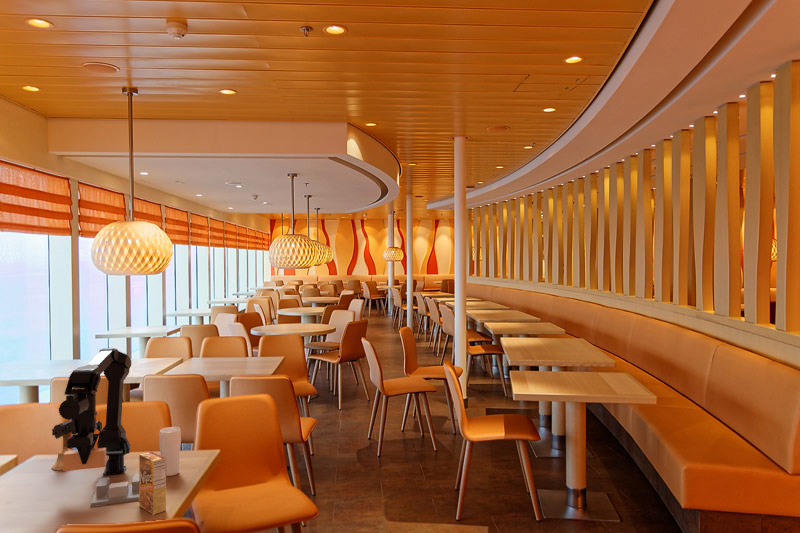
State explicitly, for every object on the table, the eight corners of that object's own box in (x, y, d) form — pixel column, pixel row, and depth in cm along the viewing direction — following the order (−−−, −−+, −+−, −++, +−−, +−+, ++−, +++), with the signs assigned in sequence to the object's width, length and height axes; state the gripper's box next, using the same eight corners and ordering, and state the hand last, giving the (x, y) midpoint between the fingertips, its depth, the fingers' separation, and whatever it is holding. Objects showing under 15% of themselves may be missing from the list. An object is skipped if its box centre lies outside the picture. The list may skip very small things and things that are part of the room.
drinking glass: (173, 478, 189) (173, 433, 189) (155, 476, 190) (154, 431, 190) (185, 470, 195) (184, 427, 195) (167, 469, 197) (167, 426, 197)
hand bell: (72, 460, 206) (71, 416, 206) (83, 465, 201) (83, 420, 201) (47, 467, 200) (47, 422, 199) (58, 472, 195) (57, 425, 195)
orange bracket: (69, 462, 177) (69, 446, 177) (109, 458, 181) (109, 442, 180) (63, 471, 170) (63, 454, 169) (104, 467, 173) (104, 450, 173)
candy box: (138, 506, 166) (138, 454, 166) (152, 502, 170) (152, 450, 170) (153, 515, 161) (152, 461, 161) (167, 510, 164) (167, 457, 164)
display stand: (97, 491, 178) (96, 478, 178) (146, 485, 183) (145, 472, 183) (90, 506, 167) (90, 493, 167) (142, 499, 171) (142, 486, 171)
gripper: (62, 405, 179) (63, 455, 179) (46, 421, 161) (46, 476, 161) (102, 402, 182) (102, 451, 182) (90, 417, 165) (90, 471, 165)
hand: (85, 462), depth 173 cm, fingers closed on orange bracket, 3 cm apart
